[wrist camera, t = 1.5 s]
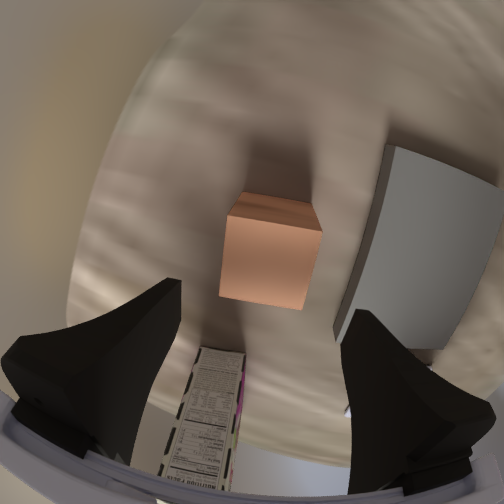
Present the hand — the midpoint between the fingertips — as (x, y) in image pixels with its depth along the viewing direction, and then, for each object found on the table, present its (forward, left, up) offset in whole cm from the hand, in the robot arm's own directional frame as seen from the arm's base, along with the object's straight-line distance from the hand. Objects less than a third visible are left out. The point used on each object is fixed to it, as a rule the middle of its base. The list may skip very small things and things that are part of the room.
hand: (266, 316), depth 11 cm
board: (0, -13, -11) cm, 17 cm away
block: (0, 0, -11) cm, 11 cm away
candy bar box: (-18, +2, -11) cm, 21 cm away
